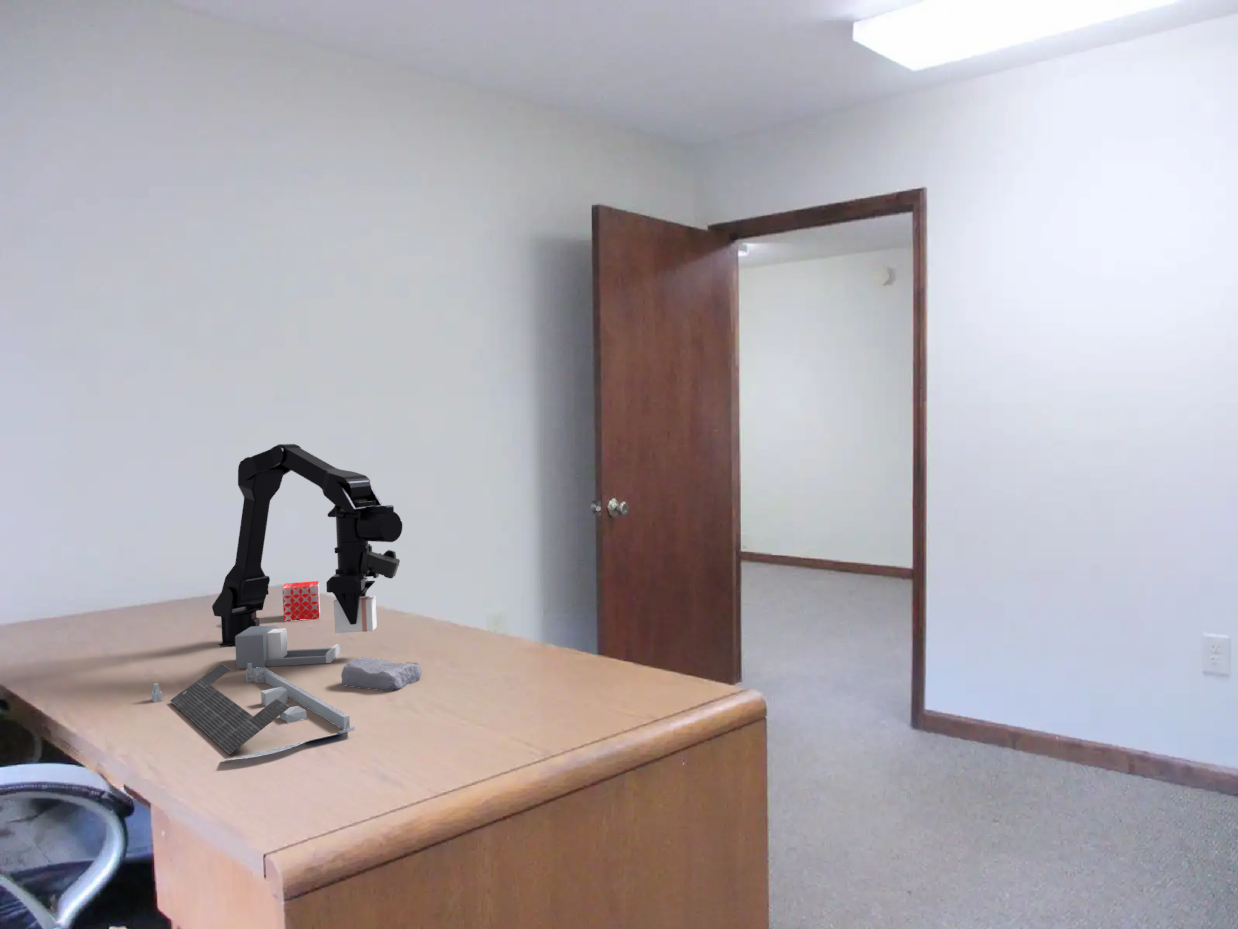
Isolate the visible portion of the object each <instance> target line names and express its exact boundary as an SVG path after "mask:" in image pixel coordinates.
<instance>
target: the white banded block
mask: <svg viewBox="0 0 1238 929" xmlns="http://www.w3.org/2000/svg"><path fill="white" fill-rule="evenodd" d="M376 599H377V598H376V595H366V596H364V597H360V601H359V609H358V616H357V623H356V624H353V625H351V624H350V623H349V621H348V619H347V617H346V615H345V613H344V611H343V609H342V607H341V606H340V604H339V602H338V600H337V598H336V599H335V600H334V601H333V613H334V614H333V616H334V634H339V633H340V634H341V633H359V632H360V633H363V632H364V633H365V632H367V633H368V632H373V631H374V630H376V628H377V627H378V622H377V604H376V603H377V602H376V601H377V600H376Z"/></svg>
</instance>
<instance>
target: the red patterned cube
mask: <svg viewBox="0 0 1238 929" xmlns="http://www.w3.org/2000/svg"><path fill="white" fill-rule="evenodd" d="M320 602H321V601H320V581H319V580H318V581H317V580H316V581H302V582H289V583H284V584H283V586H282V604H283V605H282V606H283V622H284V621H288V622H292V621H291V620H299V621H301V620H300V619H310V620H318V619H317V618H319V613H320V614H321V604H320Z"/></svg>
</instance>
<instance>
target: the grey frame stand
mask: <svg viewBox="0 0 1238 929" xmlns="http://www.w3.org/2000/svg"><path fill="white" fill-rule="evenodd" d="M287 636H288V635H287V628H284V627H283V628H278V624H275V625H260V626H251V627H249V628H248V629H246V630H245V631H243V632H241V633H240V634H238V635H237V636H235V645H234V646H235V664H236V665H235V666H236V669H237V668H242V669H248V667H247V663H252V667H261V668H262V667H264V668H266V667H277V666H299V665H315V664H317V665H319V664H331V663H332V662H333V661H334V660H335V659H336V658H337V657H338V656H339V655H340V652H341V651H340V644H339V643H338V644H337V643H336V644H334V645H332V647H320V648H302V649H288V641H287V640H288V639H287ZM338 654H339V655H338ZM337 655H338V656H337ZM335 657H336V658H335Z"/></svg>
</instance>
